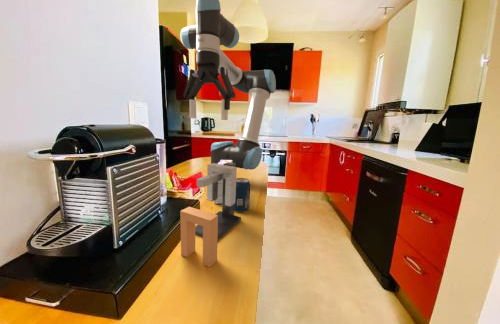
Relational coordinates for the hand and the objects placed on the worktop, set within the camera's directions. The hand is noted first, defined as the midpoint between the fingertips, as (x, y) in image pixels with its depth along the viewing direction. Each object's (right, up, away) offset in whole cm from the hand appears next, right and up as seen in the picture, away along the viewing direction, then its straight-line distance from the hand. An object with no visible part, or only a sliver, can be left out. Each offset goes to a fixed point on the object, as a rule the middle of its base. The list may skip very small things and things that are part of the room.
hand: (208, 119), depth 70 cm
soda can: (+11, -34, +9) cm, 37 cm away
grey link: (+5, -28, -5) cm, 29 cm away
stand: (+4, -36, -4) cm, 36 cm away
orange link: (+2, -39, -20) cm, 44 cm away
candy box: (+3, -31, +19) cm, 37 cm away
